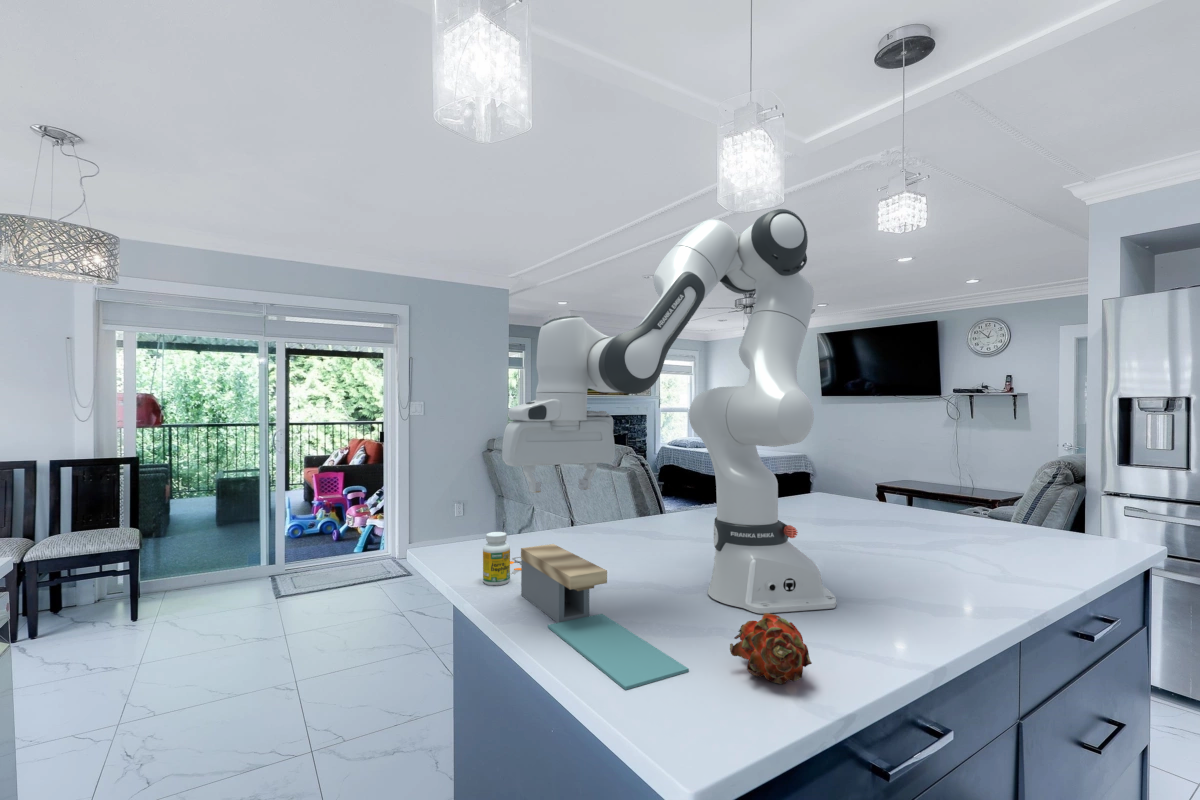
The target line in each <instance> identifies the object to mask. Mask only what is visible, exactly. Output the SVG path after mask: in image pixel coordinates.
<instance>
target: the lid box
mask: <svg viewBox="0 0 1200 800" xmlns="http://www.w3.org/2000/svg"><path fill="white" fill-rule="evenodd" d="M520 561H521V564H520V566H521V567H520V568H521V571H520V572H521V577H520V579H521V583H520V585H521V587H520V590H521V591H520V596H522V597H523V598H524V599H526V600H527V601H528V602H529V603H530V604H532V605H534V607H536V608H538V609H539V610H540V611H542V612H543V614H546V615H547V616H548V617H549V618H550V619H552V620H553V621H554V622H555V623H559V622H564V621H569V620H574V619H579V618H583V617H588V616H590V589H587V590H581V591H576V590H575V589H571V590H570V589H568V588H567V587H565V586H564V585H562V584H560V583H559V582H557V581H555V580H554V579H552V578H551V577H549V576H547V575H546V574H544V573H543V572H541V571H539V570H538V569H536V568H535V567H533V566H531V565H530V564H528V563H526V562H525V561H523V560H522V559H521V558H520Z"/></svg>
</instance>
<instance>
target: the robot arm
mask: <svg viewBox="0 0 1200 800" xmlns="http://www.w3.org/2000/svg"><path fill="white" fill-rule="evenodd" d="M808 242H809V241H808V230H807V227H806V225H805V223H804V221H803V220H802V219H801V218H800V216H798V214H796V213H795V212H793V211H792V210H789V209H785V208H778V209H774V210H770V211H769V212H766V213H764V214H762V215H761V216H759V217H758V218H757V219H756V220H755V222H754V223H752V224H751V225H749V226H748V227H747V228H746V229H745V230H744V231H742V233H741V232H737V231H735V230H734V229H733V228H732V227H731V226H730V225H729V224H728V223H726V222H725V221H723V220H720V219H715V218H714V219H707V220H704V221H702V222H701V223H699V224H698V225H696V226H694V228H692V229H691V230H690V231H688V232H687V233H686V234H685V235H684V236H683V237H682V238H681V239H680V240H679V241H677V243H676V244H675V245H674V246H673V247H672V248H671V249H670V250H669V252H667V253H666V255H665V256H664V257H663V259H661V262H659V265H658V266H657V267H656V270H655V272H654V274H653V287H654V289H655V292H656V294H657V296H659V299H657V301H656V302H655V304H654V305H653V306H652V307H651V308H650V310H649V312H647V314H646V315H645V317H644V318H643V320H642V321H641V322H640V323H639V324H638V325H637V326H636V327H634V328H632V329H630V330H628V331H625V332H623V333H619V334H618V335H615V336H612V337H611V336H609V335H606V334H604V333H602V332H601V331H599V330H597V329H596V328H594V327H593V326H591V325H590V324H589V323H588V322H587V321H586V320H585V318H584V317H582V316H580V315H579V316H578V315H569V316H568V315H567V316H561V317H556V318H553V319H550V320H547V321H546V322H545V323H543V325H541V327H540V329H539V334H538V339H537V348H536V371H537V376H538V382H537V386H536V389H535V399H534V400H531V401H529V402H524V403H522V404H519V405H515V406H512V407H510V408H509V409H508V412H507V414H508V415H507V416H508V419H509V420H510V422H508V424H506V427H505V429H504V432H503V437H502V438H503V439H502V447H501V448H502V450H501V458H502V462H504V463H505V464H506V466H509V467H522V473H523V475H524V476H525V478H526V480H527V482H528V492H529V493H531V494H538V493H541V492H542V488H541V487H542V482H541V481H538V480H536V478H535V476H534V474H533V473H536V467H537V466H553V465H554V466H556V465H557V466H558V465H578V464H579V465H580V464H582V465H583V468H584V470H585V472H584V474H583V477H582V478H578V489H579V490H582V491H584V490H590V489H591V485H592V484H591V482H592V481H591V480H592V478H593V477H594V475H595V474H596V471H597V469H598V466H597V465H598V464H603V463H605V464H607V463H608V464H609V463H610V464H611V463H612V462H613V461H614V459H615V457H616V449H615V448H616V447H615V445H616V443H615V437H614V436H615V435H614V419H613V417H612V415H611V414H610V413H607V411H606V410H597V411H596V410H588V390H593V391H596V392H599V393H623V394H629V395H634V394H635V395H636V394H641V393H644V392H646V391H648V390H649V389H651V388H652V387H653V386H654V385H655V384H656V383H657V381H658V379H659V377H660V375H661V372H662V370H663V367H664V364H665V360H666V358H667V355H668V352H669V351H670V349H671V347H672V346H673V344H674V343H675V341H676V340H677V339H678V337H679V336H680V334H681V333H682V331H683V330H684V329H685V328H686V326H687V325H688V324H689V322H690V320H691V319H692V318H693V316H694V315H695V314H696V312H697V310H698V309H699V307H700V305H702V303H703V301H704V300H705V299H706V298H707V297H708V295H710V294H711V292H712V291H713V290H714V289H715V287H716V286H718V284H719V282H720V283H721V284H722V285H723V286H724V287H725V288H726V289H728V290H729V291H731V292H733V293H735V294H739V295H741V294H742V295H744V294H750V293H752V292H753V293H754V292H755V302H754V303H755V304H754V307H753V309H752V311H751V314H750V317H749V320H748V322H747V325H746V328H745V331H744V333H743V336H742V339H741V342H740V344H739V348H738V355H739V358H740V361H741V362H742V364H743V366H745V367H746V368H747V370H749V375H748V379H747V382H746V383H745V384H744V385H737V386H719V387H714V388H710V389H708V390H704V391H703V392H702V391H701V392H699V393H698V394H697V395H696V396H695V397H694V398H693V399H692V401H691V403H690V406H689V410H688V411H689V413H688V419H689V425H690V426H691V428H692V430H693V431H694V433H695V434H696V435H697V436H698V437H699V438H700V439H701V441H702V442H703V444H704V446H705V447H706V450H707V452H708V454H709V458H710V460H711V464H712V467H713V471H714V476H715V486H716V487H715V489H716V490H715V492H716V516H715V518H714V523H713V545H714V548H715V552H714V554H715V555H714V562H713V568H712V574H711V579H710V582H709V587H708V589H707V593H708V594H707V595H709V597H710V598H711V599H713V600H714V601H717V602H720V603H722V604H725V605H729V606H732V607H737V608H741V609H744V610H747V611H750V612H753V613H756V614H764V613H770V614H773V613H775V614H776V613H788V612H802V611H815V610H816V611H817V610H828V609H829V610H830V609H835V608H836V606H837V598H836V596H835V595H834V593H833V592H832V591H830V590H829V589H828V588H826V587H825V586H824V585H823V580H822V575H821V572H820V569H819V568H818V566H817V564H816V563H815V562H814V561H813V560H812V559H811V558H809V557H808V556H807V555H806V554H804V552H802V551H801V550H800V549H798V548H797V547H796V546H795V545H794V544H792V543H791V542H790V541H788V540H789V538H790V539H795V538H796V537H797V536H798V533H799V532H798V529H796V527H794V526H793V525H791V524H790V525H789V524H786V523H784V522H782V521H781V520H779V483H778V479H777V477H776V475H775V474H774V473H773V471H771V469H769V468H768V467H767V466H766V464H764V462H763V461H762V458H761V457H760V455H759V452H758V449H757V446H760V447H770V448H772V447H773V448H775V447H776V448H777V447H784V446H790V445H794V444H798V443H801V442H803V441H804V440H805V439H806V438H807V437H808V436H809V434H810V432H811V430H812V427H813V424H814V418H815V416H814V407H813V405H812V402H811V399H810V398H809V397H808V396H807V395H806V393H804V391H803V390H802V389H801V387H800V385H799V381H798V378H797V370H798V363H799V360H800V356H801V352H802V349H803V348H802V347H803V344H804V341H805V339H806V335H807V332H808V328H809V325H810V321H811V318H812V312H813V306H814V293H815V291H814V288H813V285H812V283H811V282H810V280H809V279H808V278H807V277H805V276H803V275H801V273H800V272H801V271H802V270H803V268H805V266H806V264H807V262H808V257H807V249H808Z"/></svg>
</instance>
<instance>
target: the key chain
mask: <svg viewBox="0 0 1200 800" xmlns="http://www.w3.org/2000/svg"><path fill="white" fill-rule="evenodd" d="M516 559H517V560H516ZM518 559H521V556H516V557H512V560H513V561H511V560H510V565H513V564H514V563H519V565H521V560H518ZM518 572H521V567H516V568H514V569H513V571H512V572H511V575H512V574H514V575H516V574H517V573H518Z"/></svg>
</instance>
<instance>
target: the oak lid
mask: <svg viewBox="0 0 1200 800" xmlns="http://www.w3.org/2000/svg"><path fill="white" fill-rule="evenodd" d="M520 557H521V558H520V560H521V559H522V560H523V561H525V562H526V563H528V564H530V565H531V566H533V567H535V568H536V569H538V570H539V571H541V572H543V573H544V574H546V575H547V576H549V577H551V578H552V579H554V580H555V581H557V582H559V583H560V584H562V585H564V586H565V587H567V588H568V589H570V590H571V589H575V590H576V591H581V590H587V589H589V590H592V589H595V586H598V585H603V584H608V570H607V569H605V568H603V567H601V566H599V565H596V564H595V563H593V562H591V561H588V560H587V559H584V558H583V557H580V556H578V555H577V554H574V553H573V552H570V551H568V550H567V549H564V547H563V548H562V546H558V545H557V544H554V543H552V544H544V545H543V544H542V545H534V546H528V547H521V548H520Z"/></svg>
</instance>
